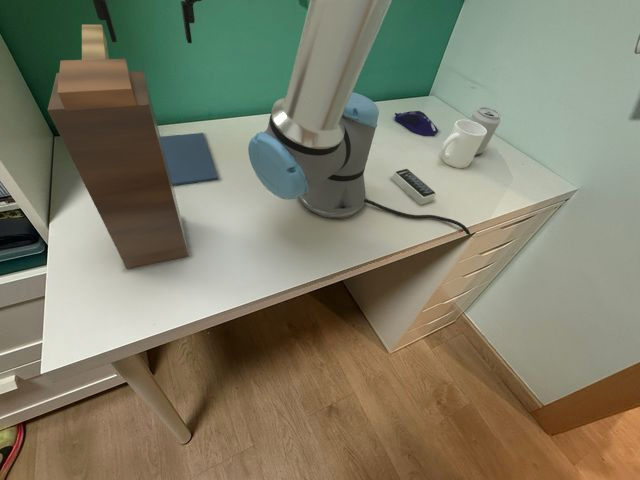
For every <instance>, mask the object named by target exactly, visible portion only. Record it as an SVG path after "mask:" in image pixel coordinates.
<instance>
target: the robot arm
mask: <svg viewBox="0 0 640 480" xmlns="http://www.w3.org/2000/svg"><path fill="white" fill-rule="evenodd" d="M197 2H202V0H180V6H181V12H182V20H183V26H184V33H185V39H186V41H187V43H188V44H193V41H192V31H191V25H190V24H195V21H196V20H195V11H194V4H195V3H197ZM392 2H393V0H309V4H308V8H307V11H306V16H305V19H304V24H303V29H302V31H301V36H300V39H299V44H298V48H297V51H296V56H295V60H294V63H293V67H292V71H291V75H290V79H289V83H288V86H287V91H286V94H285V96H283V97H280V98H278V99H277V100H276V101H275V102H274V104H273V106H272V108H271V111H270V116H269V118H268V125H267V128H266V129H265V130H264V131H259V132H257V133H256V134H255V135H254V136H253V137H251V139H250V140H249V143H248V148H247V153H248V159H249V162H250V166H251V168H252V169H253V171H254V173H255V175H256V177H257V178H258V180H259V181H260V183H261V184H262V185H263V187H264V188H266V189H267V190H268V191H269V192H270V193H271V194H273V195H274V196H275V197H277V198H280V199H282V200H287V201H288V200H289V201H290V200H295V199H297V198H298V199H299V201H300V203H301V204H302V205H303V206H304V207H305V208H306V209H307V210H308V211H310V212H311V213H313V214H315V215H318V216H319V217H320V216H321V217H324V218H327V219H346V218H350V217H352V216H354V215H356V214H358V213H359V212H360V211H361V210H362V209H363V207H364V204H365V203H366V204H369V205H371V206H373V207H375V208H377V209H381V210H384V211H386V212H388V213H391V214H394V215H396V216H401V217H404V218H408V219H415V220H417V219H419V220H422V219H423V220H424V219H432V220H438V221H442V222H447V223H449V224H453V225H456V226H458V227H459V228H461V230H463V231H464V232H465V234H466V235H469V236H470V235H471V232H470V230H469V229H468V227H466V225H464V224H463V223H461V222H459V221H457V220H455V219H451V218H448V217H445V216H444V217H443V216H439V215H434V214H411V213H405V212H401V211H398V210H396V209H392V208H389V207H387V206H385V205H382V204H380V203H377V202H375V201H372V200H370V199H368V198H366V184H365V183H366V182H365V174H364V173H365V170H366V165H367V162H368V158H369V155H370V151H371V147H372V144H373V140H374V137H375V133H376V129H377V128H378V119H379V114H380V110H379V107H378V106H377V104H376V103H375V102H374V101H373V100H372V99H370V98H368V97H367V96H364V94H363V95H362V94H360V93H357V92H354V89H355V87H356V84H357V82H358V80H359V77H360V76H361V73H362V70H363V68H364V66H365V64H366V61H367V59H368V57H369V55H370V52H371V50H372V48H373V45H374V43H375V41H376V39H377V36H378V34H379V31H380V30H381V27H382V25H383V22H384V20H385V18H386V15H387V13H388V11H389V8H390V6H391V4H392ZM92 3H93V6H94V9H95V12H96V15H97V18H98V19H99V20H100V21H105V22H106V26H107V30H108V34H109V36H110V40H111V42H112V43H117V36H116V32H115V27H114V24H113V21H112V18H111V17H112V16H111V13H110V10H109V7H108V3H107V0H92Z"/></svg>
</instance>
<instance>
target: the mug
mask: <svg viewBox="0 0 640 480" xmlns="http://www.w3.org/2000/svg"><path fill="white" fill-rule="evenodd" d="M486 133H487V130H486V129H485V128H484V127H483V126H482V125H480V124H478V123H476V122H473V121H470V120H469V119H459V120H456V122H455V123H454V125H453V128H452V129H451V132H450V134H449V136H448V137H447V138H445V140H444V142H443V143H442V145H441V147H440V150H439V157H440V158H441V160H442V161H443V162H444V163H445V164H446V165H448V166H450V167H452V168H456V169H465V168H467V167H469V166H470V165H471V163H472V161H473V159H474V157H475V156H476V155H475V154H476V152H477V150H478V148H479V146H480V144H481V143H482V141H483V139H484V137H485V135H486Z"/></svg>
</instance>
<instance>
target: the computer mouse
mask: <svg viewBox="0 0 640 480" xmlns="http://www.w3.org/2000/svg"><path fill="white" fill-rule="evenodd" d="M394 119H395V122H397V123H399V124H400V125H402V126H403V127H404V128H406V129H408V130H409V131H411V132H412V133H415V134H418V135H420V136H421V135H422V136H430V137H431V136H432V137H433V136H435V135H436V134H437V133H438V132H439V129H438V128H437V126H436V125H435V124H434V122H433V121H432V120H431V119H430V118H429V117H428V116H427V114H425V112H422V111H420V110H410V111H405V112H403V113H402V112H398V113H397V112H394Z"/></svg>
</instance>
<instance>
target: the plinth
mask: <svg viewBox="0 0 640 480" xmlns="http://www.w3.org/2000/svg"><path fill="white" fill-rule="evenodd" d="M129 73H130V77H131V82H132V86H133V91H134V96H135V100H136V106H123V107H109V108H96V109H83V110H69V111H66V110H65V108H64V106H63V104H62V102H61V100H60V98H59V95H58V93H57V91H58V81H59V72H56V74H55V78H54V82H53V86H52V91H51V94H50V99H49V102H48V107H47V112H48V114H49V116H50V118H51V121H52V122H53V124H54V126H55V128H56V130H57V132H58V134H59V135H60V138H61V141H62V142H63V144H64V146H65V148H66V150H67V152H68V154H69V156H70V158H71V160H72V162H73V164H74V166H75V168H76V170H77V172H78V174H79V176H80V178H81V180H82V182H83V185H84V187H85V188H86V191H87V192H88V194H89V196H90V198H91V201H92V202H93V204H94V206H95V208H96V211H97V212H98V214H99V216H100V218H101V221H102V222H103V224H104V227H105V229H106V230H107V233H108V234H109V237H110V238H111V240H112V243H113V245H114V247H115V249H116V250H117V252H118V255H119V256H120V259H121V260H122V263H123V264H124V267H125V268H126V270H129V269H134V268H135V269H136V268H139V267H144V266H148V265H153V264H158V263H163V262H167V261H172V260H177V259H182V258H187V257H189V256H190V255H189V252H188V245H187V240H186V234H185V230H184V224H183V219H182V215H181V212H180V207H179V204H178V199H177V196H176V192H175V188H174V186H173V184H172V180H171V176H170V172H169V168H168V164H167V160H166V156H165V152H164V148H163V144H162V140H161V136H162V135H161V133H160V128H159V125H158V122H157V121H158V120H157V117H156V113H155V109H154V106H153V101H152V98H151V94H150V89H149V86H148V82H147V77H146V74H145V71H144V70H133V71H130V70H129Z"/></svg>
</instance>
